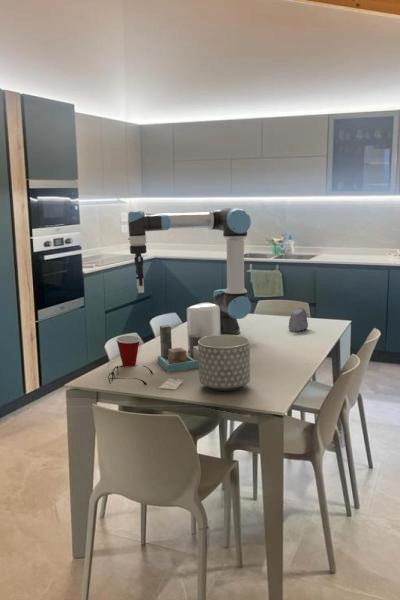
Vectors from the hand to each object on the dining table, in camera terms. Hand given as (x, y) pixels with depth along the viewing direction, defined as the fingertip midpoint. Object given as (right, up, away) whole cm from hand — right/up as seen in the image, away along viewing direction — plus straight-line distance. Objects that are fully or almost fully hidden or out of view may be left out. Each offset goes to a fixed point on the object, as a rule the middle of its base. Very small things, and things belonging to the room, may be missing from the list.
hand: (140, 290), depth 267 cm
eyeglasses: (0, -37, -39) cm, 53 cm away
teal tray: (+23, -32, -19) cm, 44 cm away
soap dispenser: (+32, -28, +3) cm, 42 cm away
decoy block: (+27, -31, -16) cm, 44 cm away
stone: (+79, -21, +35) cm, 89 cm away
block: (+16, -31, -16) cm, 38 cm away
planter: (+37, -38, -52) cm, 74 cm away
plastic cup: (-3, -33, -19) cm, 38 cm away
